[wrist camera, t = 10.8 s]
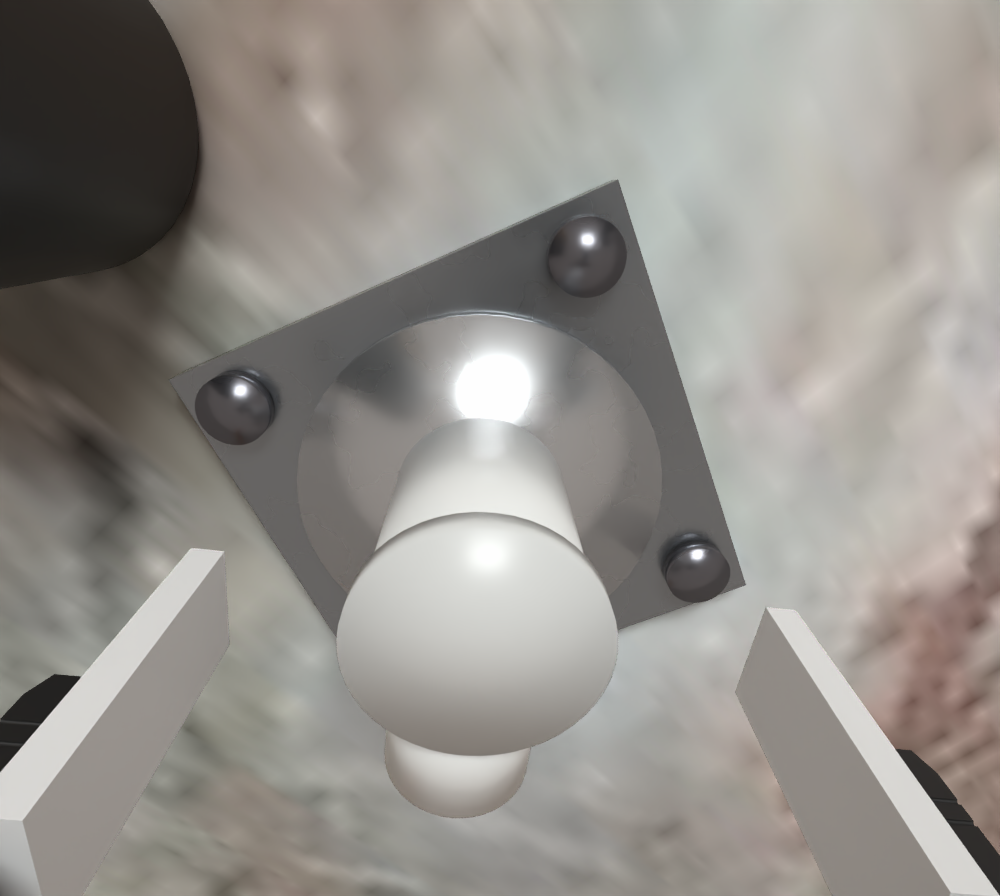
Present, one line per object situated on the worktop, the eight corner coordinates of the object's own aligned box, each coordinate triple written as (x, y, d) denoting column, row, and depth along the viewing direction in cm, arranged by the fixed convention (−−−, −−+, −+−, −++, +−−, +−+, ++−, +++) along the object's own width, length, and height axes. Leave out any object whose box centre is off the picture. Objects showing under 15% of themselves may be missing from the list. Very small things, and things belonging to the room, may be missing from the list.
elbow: (393, 398, 20) (340, 514, 13) (587, 420, 21) (645, 545, 13) (378, 624, 24) (330, 820, 16) (544, 639, 24) (572, 836, 17)
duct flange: (611, 180, 19) (622, 178, 18) (736, 570, 25) (752, 595, 24) (182, 372, 21) (158, 385, 20) (387, 693, 27) (381, 723, 26)
